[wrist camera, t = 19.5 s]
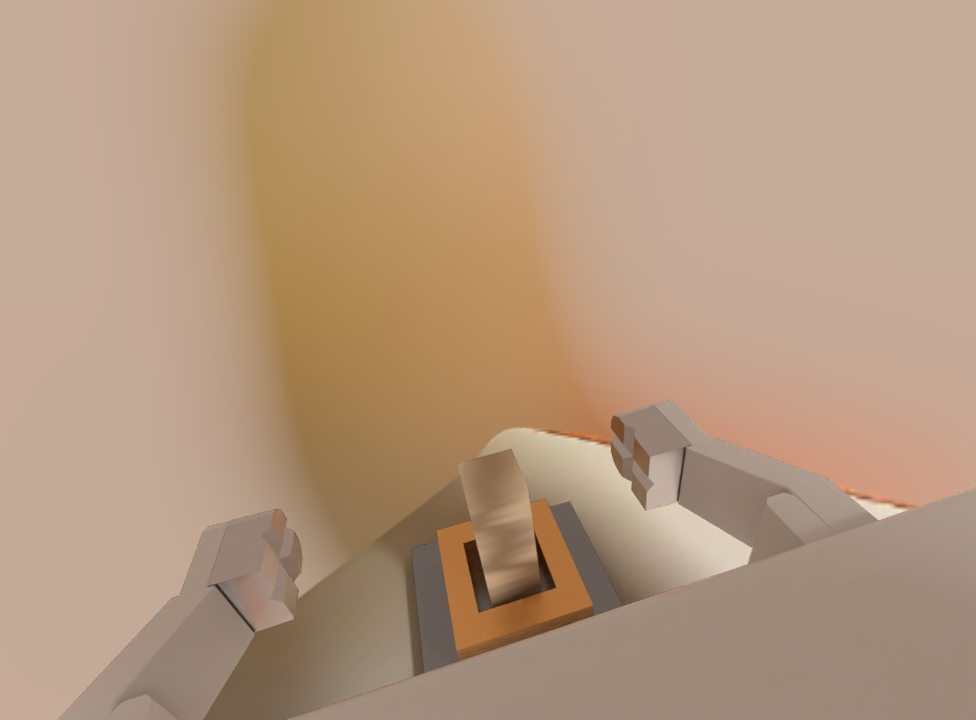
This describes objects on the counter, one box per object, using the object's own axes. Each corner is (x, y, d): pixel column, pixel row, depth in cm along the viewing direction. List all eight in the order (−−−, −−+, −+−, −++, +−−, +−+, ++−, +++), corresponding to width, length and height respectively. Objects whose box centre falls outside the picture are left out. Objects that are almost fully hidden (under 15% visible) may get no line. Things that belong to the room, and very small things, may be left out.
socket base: (570, 511, 45) (568, 473, 42) (642, 657, 33) (646, 619, 30) (414, 558, 43) (400, 521, 40) (433, 731, 31) (416, 698, 28)
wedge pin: (528, 563, 39) (511, 448, 32) (543, 607, 36) (528, 490, 28) (485, 577, 39) (457, 463, 31) (496, 622, 35) (467, 508, 28)
